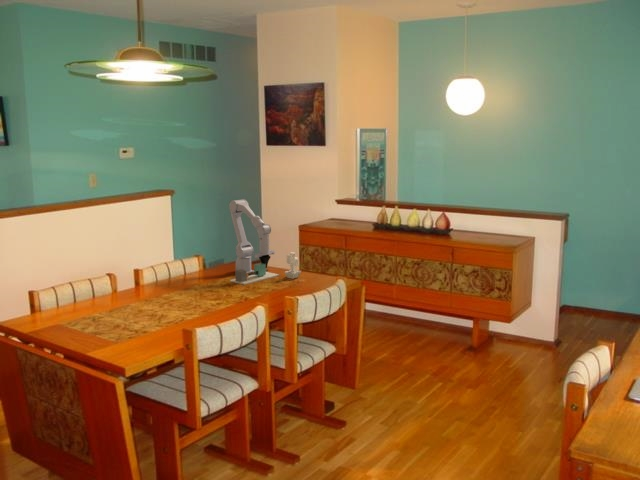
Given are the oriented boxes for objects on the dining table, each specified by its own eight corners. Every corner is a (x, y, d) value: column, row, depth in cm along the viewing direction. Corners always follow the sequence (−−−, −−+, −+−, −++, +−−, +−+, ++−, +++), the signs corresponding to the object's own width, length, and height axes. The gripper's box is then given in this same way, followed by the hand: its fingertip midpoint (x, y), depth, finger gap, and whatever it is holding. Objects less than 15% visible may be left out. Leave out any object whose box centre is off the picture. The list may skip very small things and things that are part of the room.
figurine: (302, 276, 376) (302, 251, 373) (293, 280, 368) (292, 254, 365) (292, 275, 380) (292, 250, 377) (283, 278, 372) (282, 253, 369)
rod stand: (230, 281, 365) (229, 269, 364) (265, 272, 386) (265, 261, 385) (244, 284, 357) (244, 273, 356) (279, 275, 378) (279, 264, 377)
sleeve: (254, 274, 374) (254, 264, 373) (260, 273, 378) (260, 262, 376) (259, 276, 371) (259, 265, 370) (265, 274, 375) (265, 263, 374)
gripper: (260, 247, 366) (260, 271, 369) (277, 244, 377) (278, 266, 379) (251, 246, 371) (252, 269, 373) (269, 242, 382) (269, 265, 384)
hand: (264, 267), depth 377 cm, fingers closed
